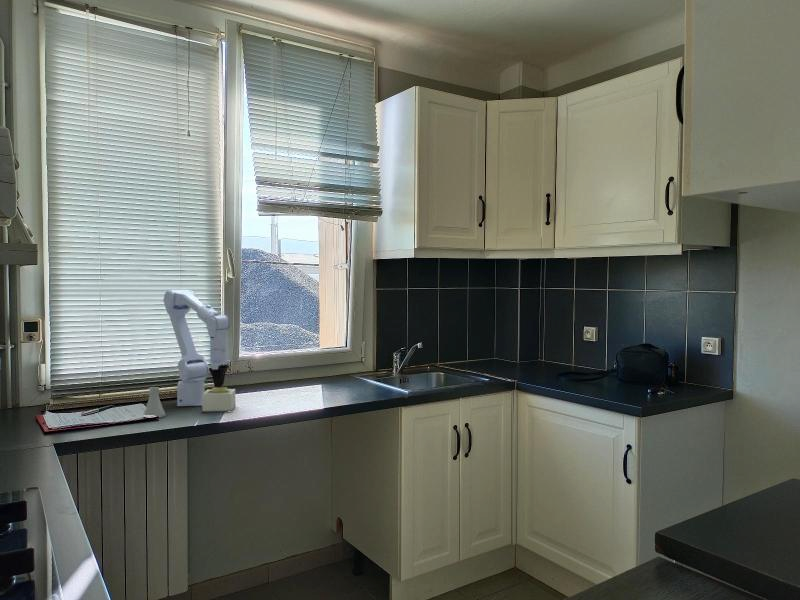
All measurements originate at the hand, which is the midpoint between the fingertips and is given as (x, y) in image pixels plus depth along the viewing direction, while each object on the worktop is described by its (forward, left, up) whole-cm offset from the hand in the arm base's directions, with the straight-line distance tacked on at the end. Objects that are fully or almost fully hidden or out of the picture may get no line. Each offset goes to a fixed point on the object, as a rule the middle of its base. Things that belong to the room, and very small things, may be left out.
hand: (219, 386), depth 216 cm
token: (0, 0, -6) cm, 6 cm away
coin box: (0, 0, -8) cm, 8 cm away
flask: (-20, -9, -9) cm, 24 cm away
